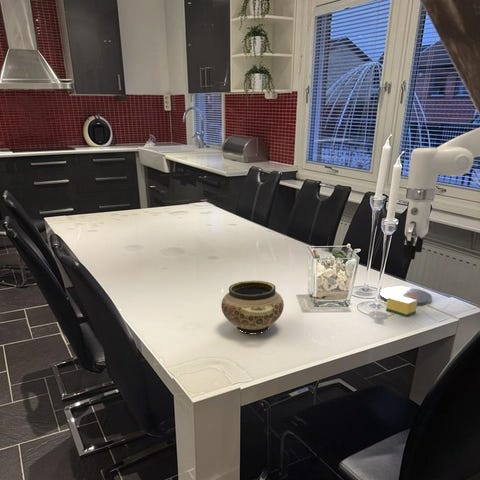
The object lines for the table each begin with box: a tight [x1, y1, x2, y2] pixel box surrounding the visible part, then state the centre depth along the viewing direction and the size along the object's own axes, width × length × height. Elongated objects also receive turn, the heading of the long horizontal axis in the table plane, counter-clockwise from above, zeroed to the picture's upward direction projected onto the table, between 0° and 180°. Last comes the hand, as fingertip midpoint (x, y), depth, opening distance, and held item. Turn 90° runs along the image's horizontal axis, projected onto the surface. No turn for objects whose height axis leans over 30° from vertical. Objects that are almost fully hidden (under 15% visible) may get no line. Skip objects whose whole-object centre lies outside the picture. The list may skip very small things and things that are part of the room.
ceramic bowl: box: [220, 280, 285, 334], centre depth 135 cm, size 24×18×15 cm
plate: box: [379, 286, 433, 307], centre depth 161 cm, size 17×17×1 cm
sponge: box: [385, 295, 418, 318], centre depth 148 cm, size 8×5×4 cm, turn 38°
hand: (412, 255), depth 136 cm, fingers open, 9 cm apart
